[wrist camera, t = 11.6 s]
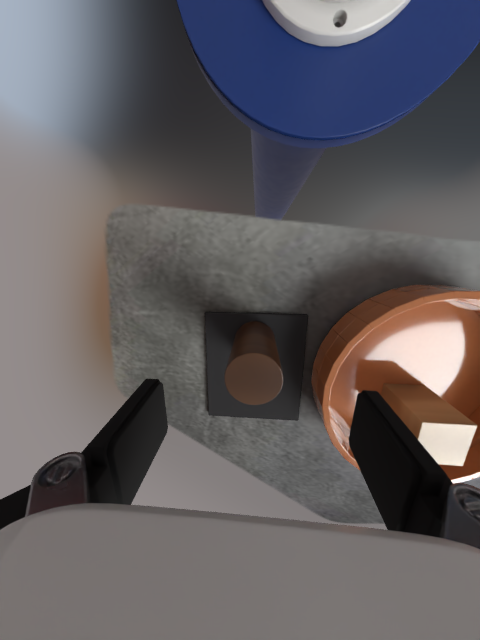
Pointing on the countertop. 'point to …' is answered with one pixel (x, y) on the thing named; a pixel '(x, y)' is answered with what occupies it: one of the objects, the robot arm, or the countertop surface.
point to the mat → (291, 356)
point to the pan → (403, 358)
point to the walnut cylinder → (254, 365)
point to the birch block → (432, 421)
